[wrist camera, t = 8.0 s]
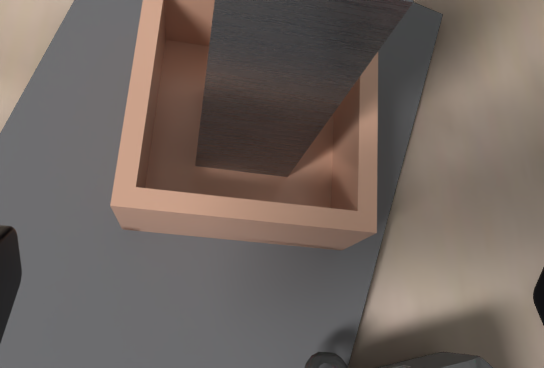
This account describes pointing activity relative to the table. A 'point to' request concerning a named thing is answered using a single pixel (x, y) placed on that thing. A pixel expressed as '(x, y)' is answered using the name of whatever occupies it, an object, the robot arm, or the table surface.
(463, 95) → the table surface
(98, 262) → the mat
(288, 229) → the open box
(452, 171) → the table surface
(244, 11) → the grey block
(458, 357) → the grey red device
